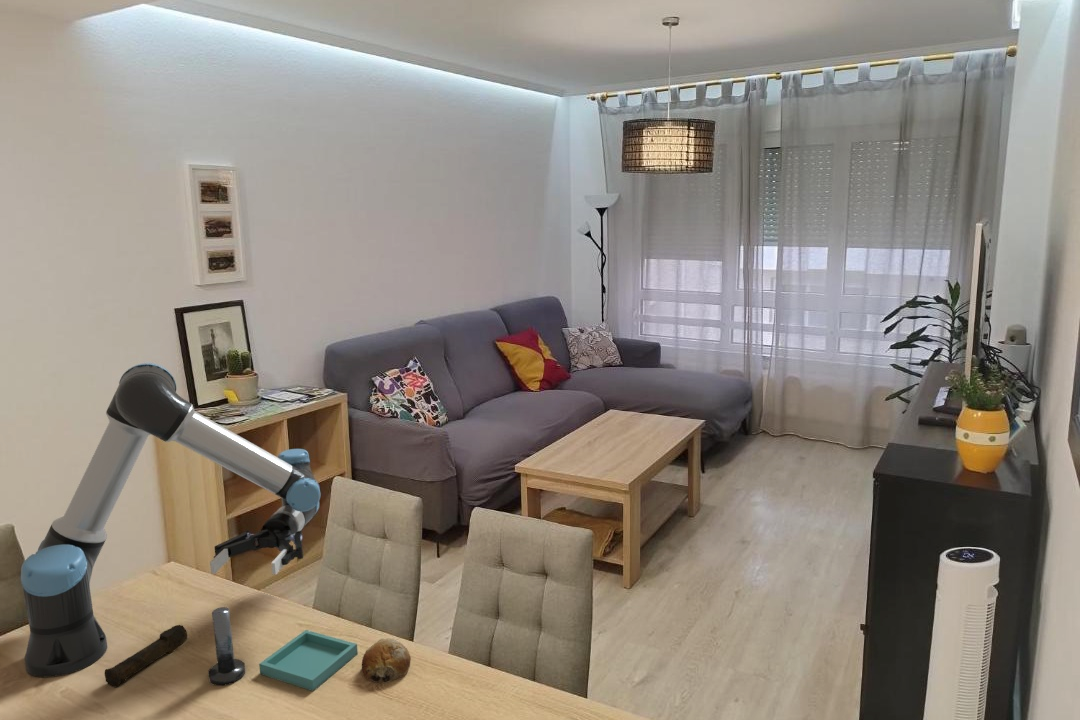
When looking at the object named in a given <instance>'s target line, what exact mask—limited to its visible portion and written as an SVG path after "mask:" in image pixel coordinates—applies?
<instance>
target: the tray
mask: <svg viewBox="0 0 1080 720" xmlns="http://www.w3.org/2000/svg"><path fill="white" fill-rule="evenodd" d="M358 654H359V652H358V644H357V643H355V642H351V641H347V640H344V639H341V638H336V637H333V636H330V635H327V634H322V633H319V632H315V631H312V630H308V629H305V630H304V631H302V632H301V633H299V634H298V635H296V636H295V637H294V638H293V639H291V640H290V641H288V642H287V643H286V644H284V645H283V646H282V647H280V648H279V649H277V650H276V651H275V652H273V653H271V654H270V655H269V656H268V657H266V658H265V659H264V660H262V661H261V662H259V664H258V665H259V666H258V667H259V674H260V675H262V676H265V677H269V678H271V679H274V680H278V681H279V682H280V681H281V682H284V683H287V684H289V685H293V686H296V687H300V688H303V689H306V690H309V691H312V692H314V691H315V690H316V689H318V688H319V687H320V686H322V685H323V684H324V683H325V682H326V681H328V680H329V679H330V678H331V677H333V676H334V674H336V673H337V672H338V671H340V670H341V669H342V668H343V667H344V666H345V665H347V664H348V663H349V662H350V661H351V660H353V659H354V658H356V656H358Z"/></svg>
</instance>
